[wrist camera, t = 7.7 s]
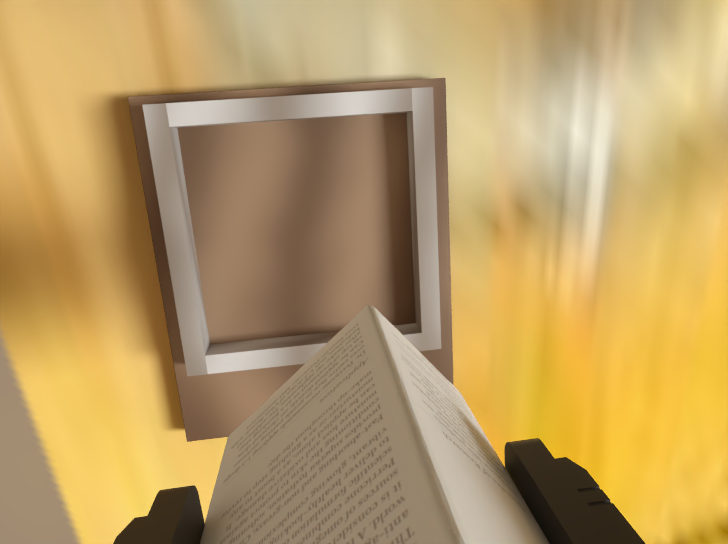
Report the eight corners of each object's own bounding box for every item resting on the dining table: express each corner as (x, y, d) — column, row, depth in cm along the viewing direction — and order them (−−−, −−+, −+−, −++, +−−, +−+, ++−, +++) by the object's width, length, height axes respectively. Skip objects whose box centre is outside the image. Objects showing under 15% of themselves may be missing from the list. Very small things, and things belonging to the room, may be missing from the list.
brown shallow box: (439, 80, 27) (453, 74, 24) (448, 399, 31) (461, 423, 29) (135, 98, 25) (116, 94, 23) (191, 429, 30) (180, 457, 27)
